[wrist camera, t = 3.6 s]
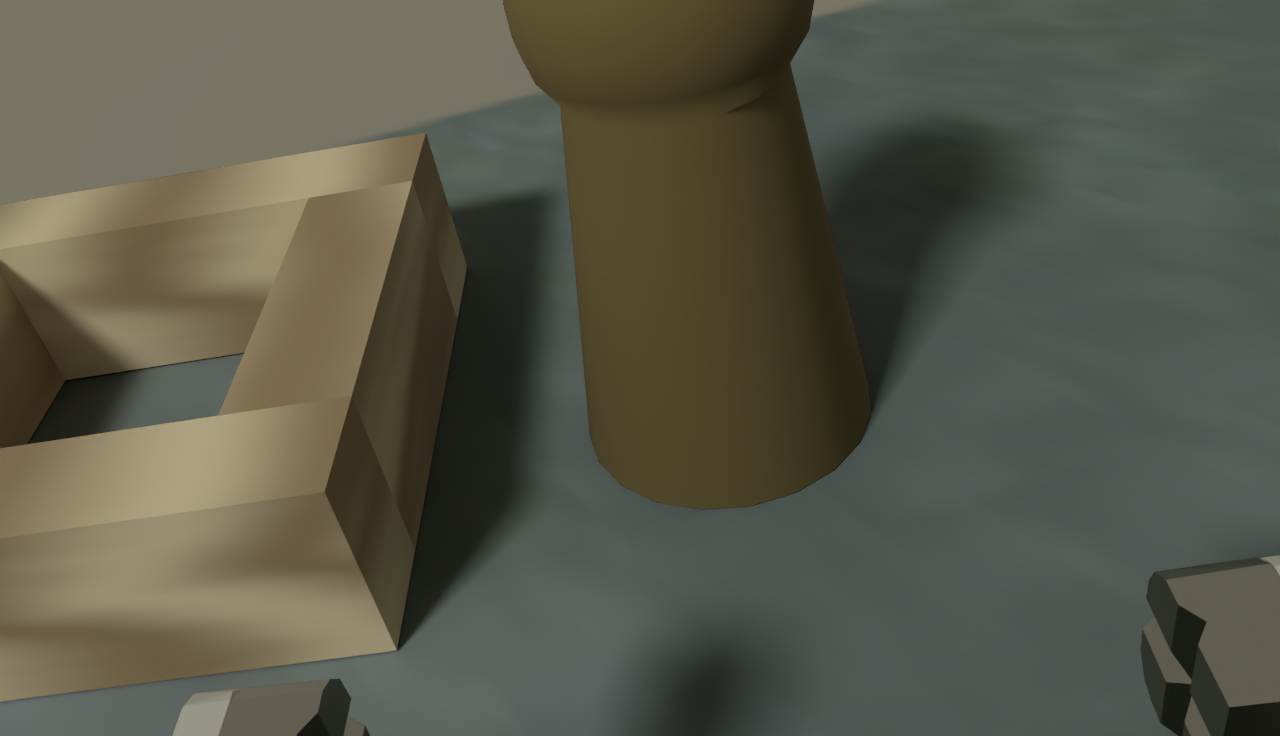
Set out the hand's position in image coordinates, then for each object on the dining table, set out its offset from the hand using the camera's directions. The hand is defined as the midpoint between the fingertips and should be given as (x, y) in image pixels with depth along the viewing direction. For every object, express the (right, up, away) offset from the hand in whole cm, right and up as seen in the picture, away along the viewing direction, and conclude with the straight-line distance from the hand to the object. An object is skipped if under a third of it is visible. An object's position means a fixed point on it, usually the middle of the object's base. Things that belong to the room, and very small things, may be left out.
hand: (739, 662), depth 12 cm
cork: (+1, +2, +14) cm, 14 cm away
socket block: (-12, +1, +15) cm, 19 cm away
